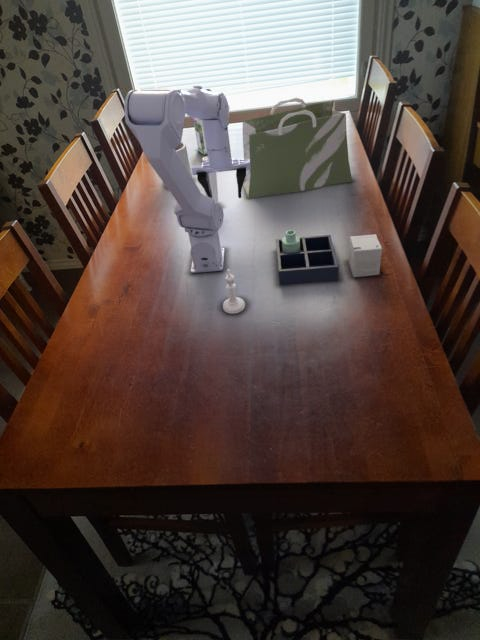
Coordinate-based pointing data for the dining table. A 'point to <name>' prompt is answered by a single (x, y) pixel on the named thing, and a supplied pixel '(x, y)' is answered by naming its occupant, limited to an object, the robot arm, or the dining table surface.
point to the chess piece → (232, 297)
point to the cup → (183, 155)
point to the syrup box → (200, 135)
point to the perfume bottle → (212, 182)
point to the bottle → (291, 242)
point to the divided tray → (308, 261)
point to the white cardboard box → (365, 255)
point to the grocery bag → (296, 149)
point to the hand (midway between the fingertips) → (225, 197)
